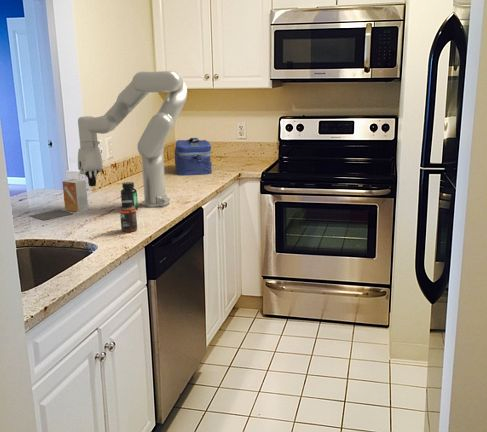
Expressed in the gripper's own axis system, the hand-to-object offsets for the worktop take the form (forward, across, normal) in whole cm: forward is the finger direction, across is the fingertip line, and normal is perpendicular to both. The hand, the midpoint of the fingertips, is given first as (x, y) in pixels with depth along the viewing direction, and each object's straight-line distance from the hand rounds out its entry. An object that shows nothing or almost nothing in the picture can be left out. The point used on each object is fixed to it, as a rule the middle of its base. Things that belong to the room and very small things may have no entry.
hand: (92, 185), depth 251 cm
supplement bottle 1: (+9, -5, +20) cm, 23 cm away
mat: (+9, +21, 0) cm, 23 cm away
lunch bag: (+9, -89, -32) cm, 95 cm away
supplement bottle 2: (+9, +15, +47) cm, 50 cm away
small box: (+10, +9, 0) cm, 13 cm away
